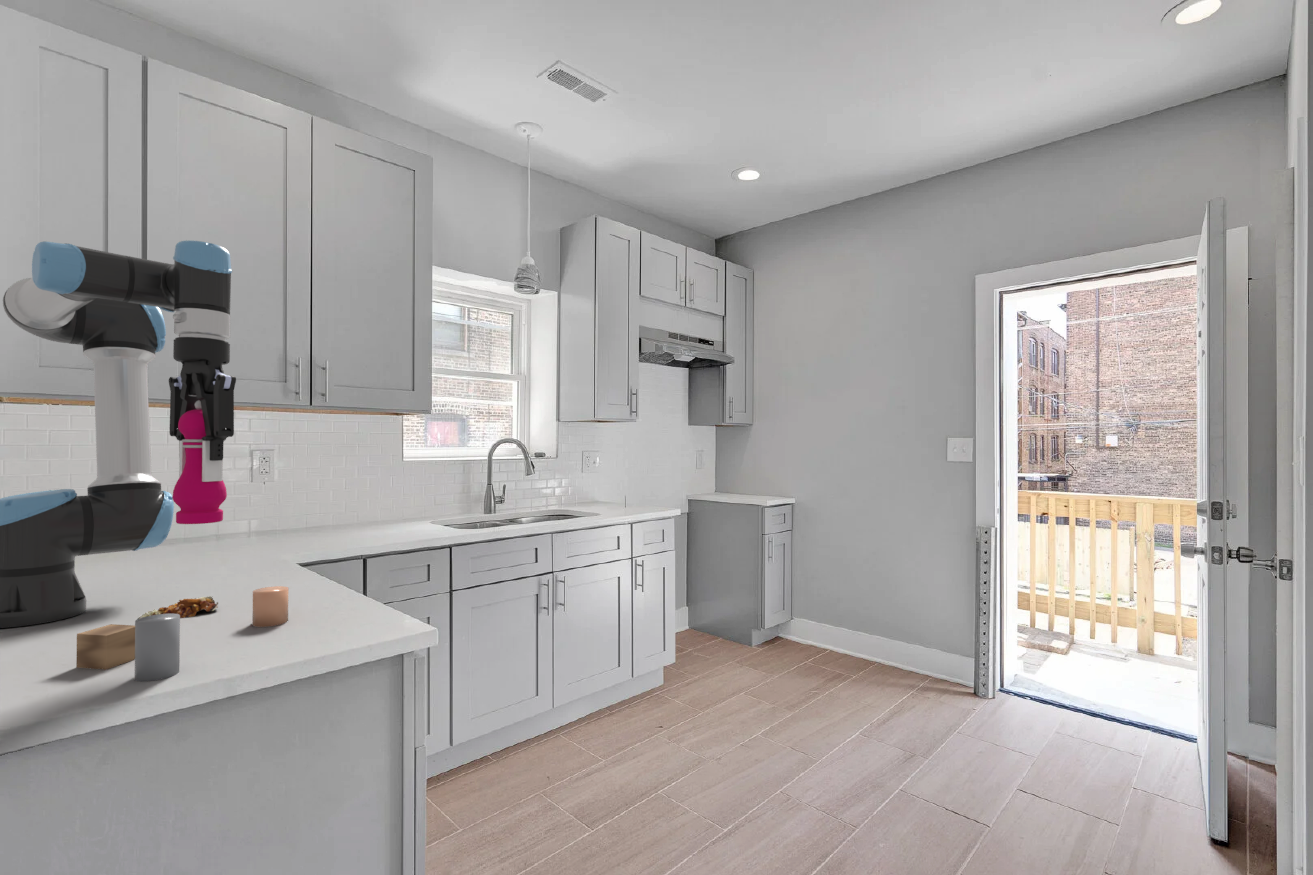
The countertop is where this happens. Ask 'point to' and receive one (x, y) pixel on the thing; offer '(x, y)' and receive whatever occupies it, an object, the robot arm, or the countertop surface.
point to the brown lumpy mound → (186, 607)
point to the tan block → (106, 646)
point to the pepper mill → (196, 476)
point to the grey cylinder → (157, 647)
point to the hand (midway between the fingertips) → (200, 480)
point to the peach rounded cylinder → (270, 606)
